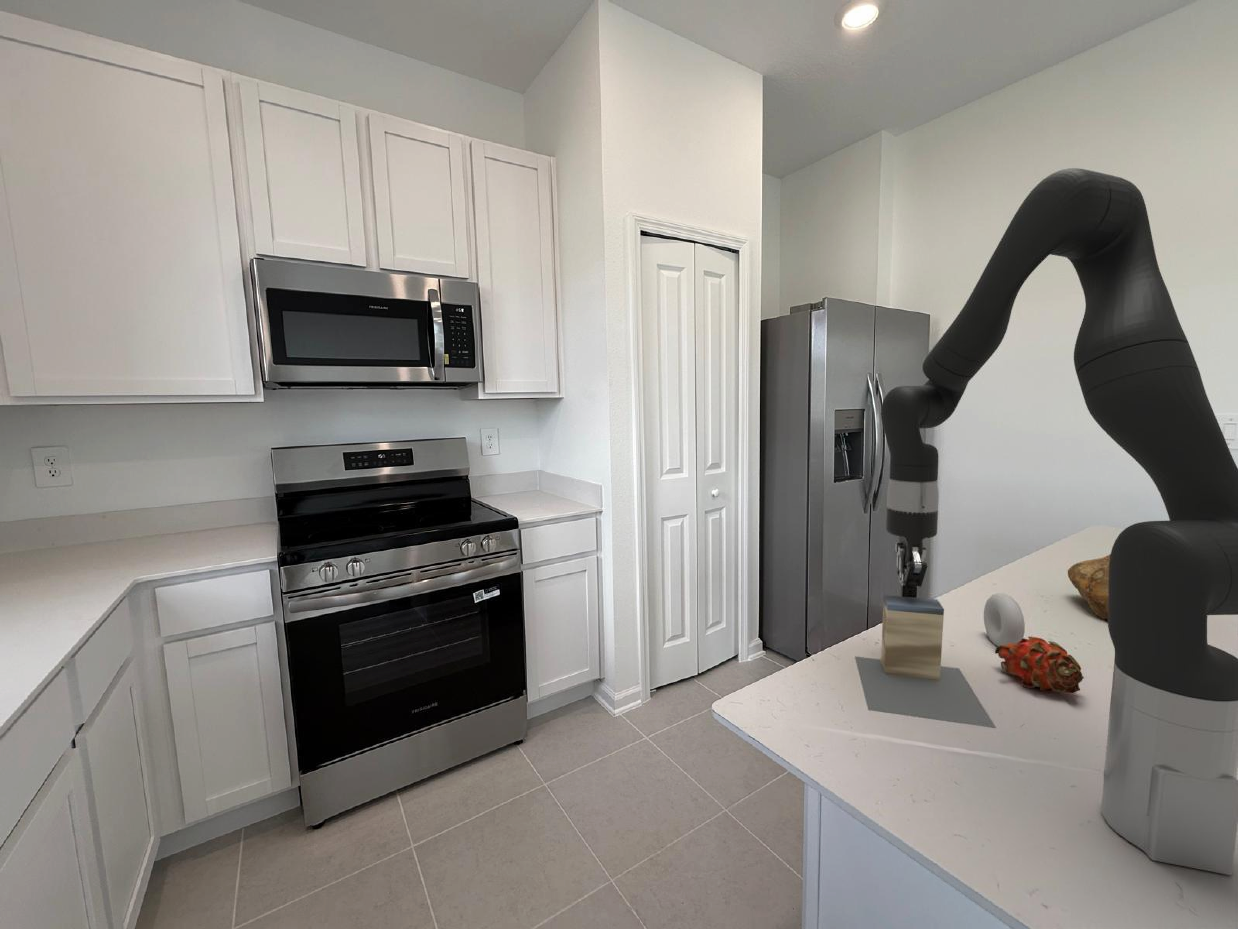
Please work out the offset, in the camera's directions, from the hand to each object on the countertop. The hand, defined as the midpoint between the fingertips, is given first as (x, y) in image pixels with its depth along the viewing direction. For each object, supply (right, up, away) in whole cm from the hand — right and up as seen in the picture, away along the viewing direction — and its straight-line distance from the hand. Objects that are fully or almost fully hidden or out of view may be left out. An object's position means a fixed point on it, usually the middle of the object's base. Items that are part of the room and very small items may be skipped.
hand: (908, 605), depth 91 cm
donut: (+21, -10, +7) cm, 24 cm away
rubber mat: (-3, -11, -7) cm, 14 cm away
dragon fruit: (+16, -11, -7) cm, 21 cm away
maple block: (-1, -10, -2) cm, 10 cm away
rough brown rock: (+56, -7, +22) cm, 61 cm away
